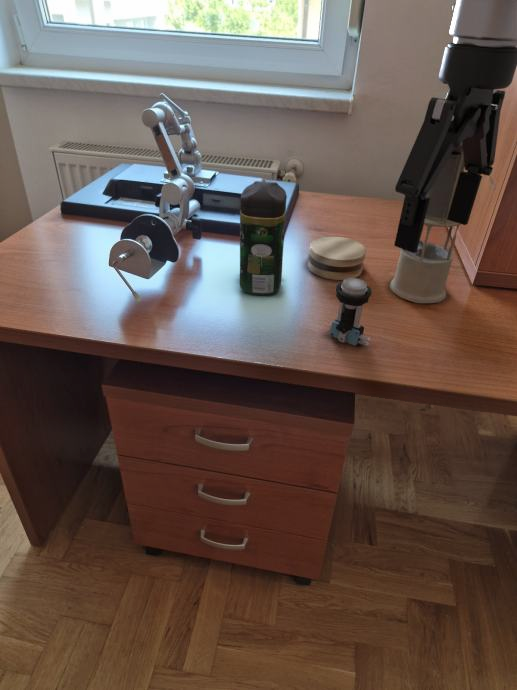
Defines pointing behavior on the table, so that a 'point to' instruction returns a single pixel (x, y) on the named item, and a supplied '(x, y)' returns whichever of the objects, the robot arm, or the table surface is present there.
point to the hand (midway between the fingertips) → (432, 234)
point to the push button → (350, 311)
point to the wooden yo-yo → (336, 258)
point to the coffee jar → (262, 237)
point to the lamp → (431, 260)
